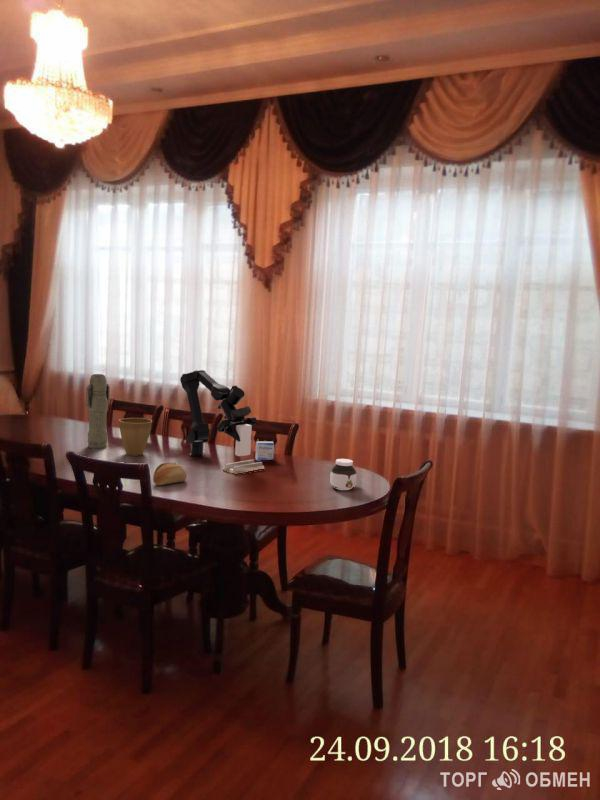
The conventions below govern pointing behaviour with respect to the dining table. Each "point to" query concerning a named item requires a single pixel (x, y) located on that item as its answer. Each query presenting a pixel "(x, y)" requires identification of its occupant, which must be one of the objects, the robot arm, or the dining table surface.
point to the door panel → (243, 440)
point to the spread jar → (343, 474)
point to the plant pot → (135, 434)
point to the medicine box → (264, 450)
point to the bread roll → (169, 474)
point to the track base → (243, 466)
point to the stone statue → (97, 410)
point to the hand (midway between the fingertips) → (245, 440)
